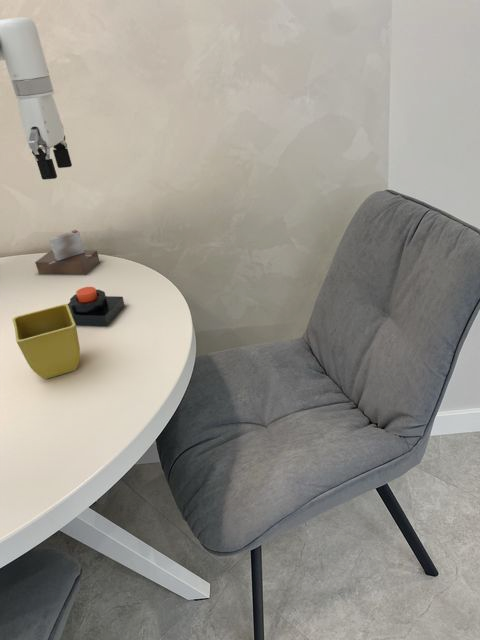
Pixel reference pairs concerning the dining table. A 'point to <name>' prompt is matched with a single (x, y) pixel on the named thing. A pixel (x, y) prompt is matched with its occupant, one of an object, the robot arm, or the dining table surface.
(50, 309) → the flower pot
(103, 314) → the button block
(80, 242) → the tap lever
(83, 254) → the base
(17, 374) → the dining table surface
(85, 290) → the button
